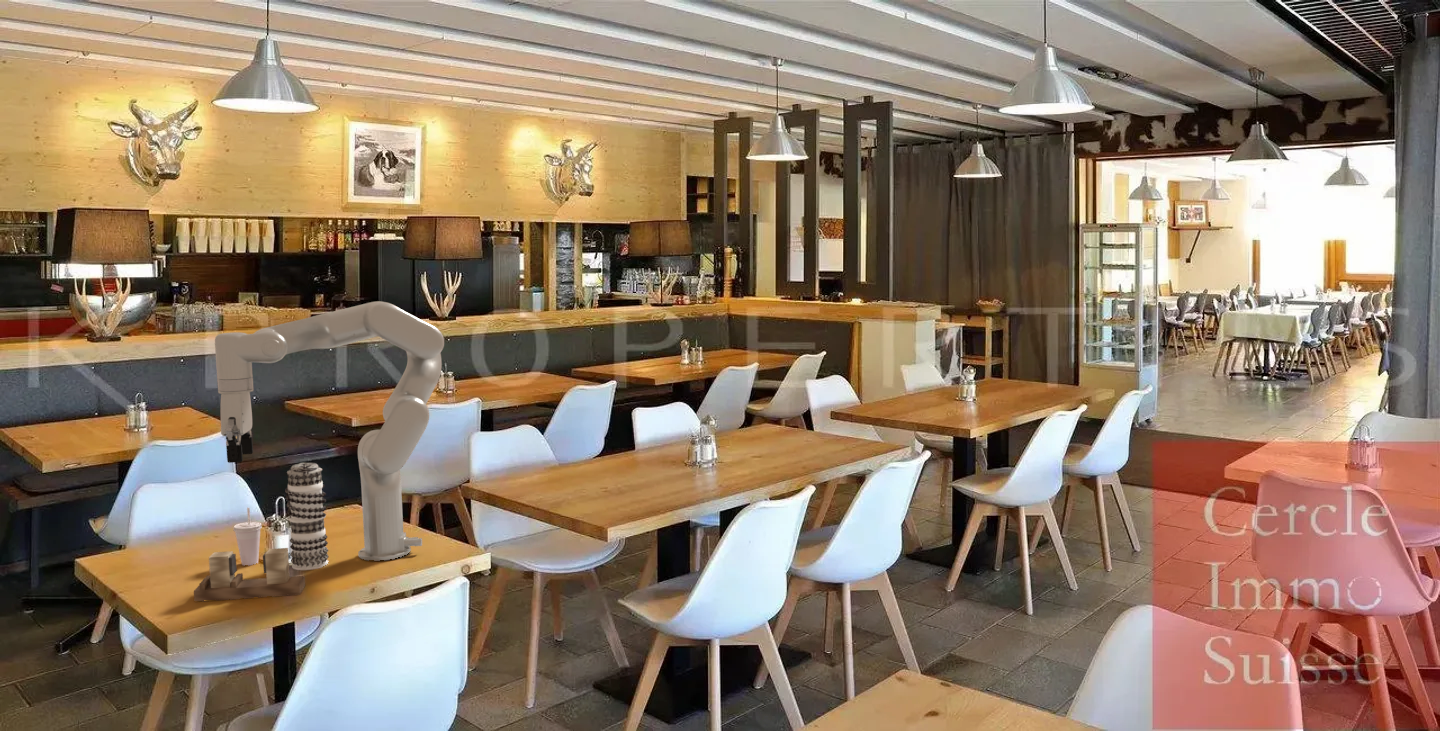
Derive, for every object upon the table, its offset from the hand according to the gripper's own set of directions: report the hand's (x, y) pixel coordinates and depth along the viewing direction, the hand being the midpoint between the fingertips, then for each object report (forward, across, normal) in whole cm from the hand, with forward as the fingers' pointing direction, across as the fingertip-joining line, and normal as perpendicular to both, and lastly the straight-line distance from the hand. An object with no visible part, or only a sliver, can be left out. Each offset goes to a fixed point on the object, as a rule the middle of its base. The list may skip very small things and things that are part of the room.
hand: (240, 457), depth 249 cm
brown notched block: (+28, +15, +4) cm, 32 cm away
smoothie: (+28, -10, -2) cm, 30 cm away
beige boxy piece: (+26, +15, -2) cm, 30 cm away
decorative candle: (+28, -5, +13) cm, 32 cm away
